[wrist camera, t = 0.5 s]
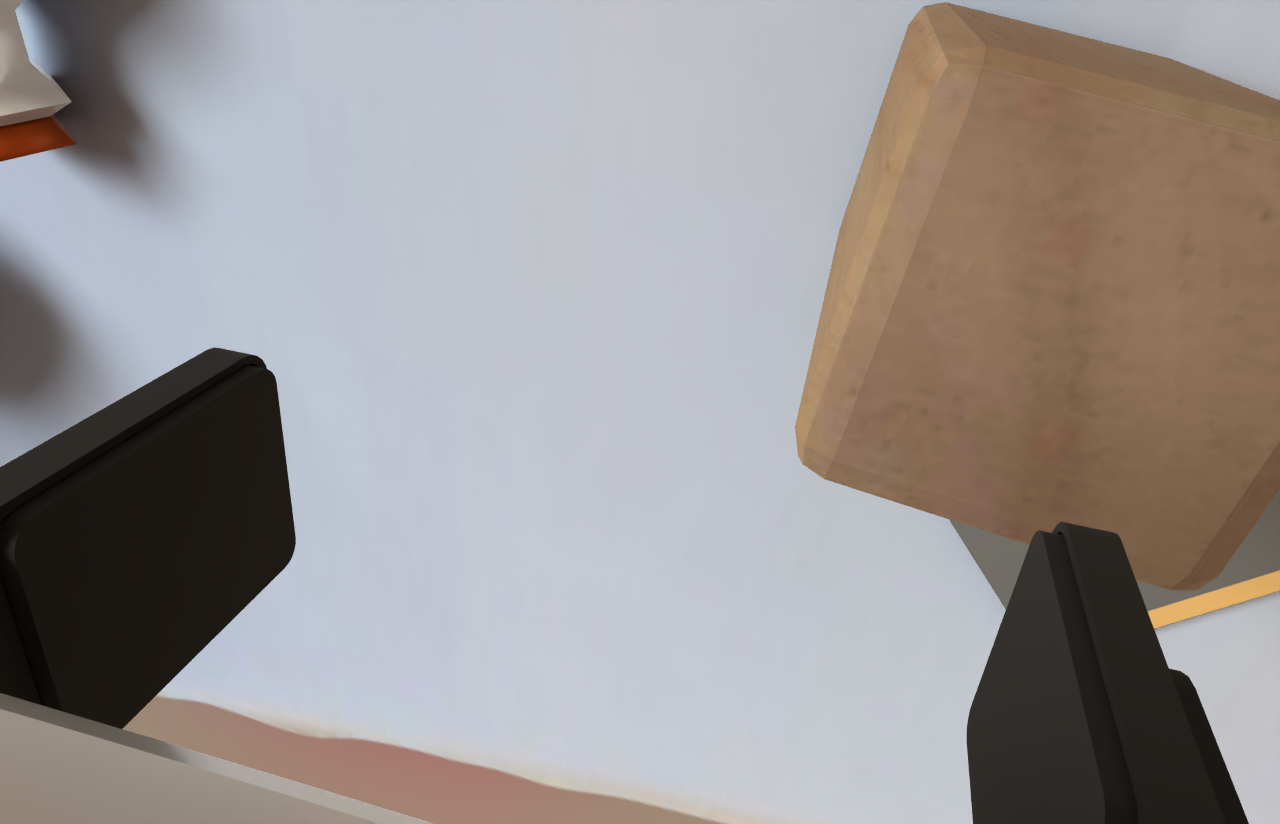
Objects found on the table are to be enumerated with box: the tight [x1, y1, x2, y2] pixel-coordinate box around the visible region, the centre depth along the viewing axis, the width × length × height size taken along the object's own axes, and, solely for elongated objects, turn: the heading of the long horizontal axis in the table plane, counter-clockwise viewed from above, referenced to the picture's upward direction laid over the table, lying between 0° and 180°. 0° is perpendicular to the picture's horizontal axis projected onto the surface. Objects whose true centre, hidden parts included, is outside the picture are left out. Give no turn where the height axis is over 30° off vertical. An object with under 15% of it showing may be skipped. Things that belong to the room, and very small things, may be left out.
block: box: [795, 2, 1280, 591], centre depth 27 cm, size 10×10×20 cm
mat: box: [949, 489, 1280, 628], centre depth 38 cm, size 18×16×1 cm
